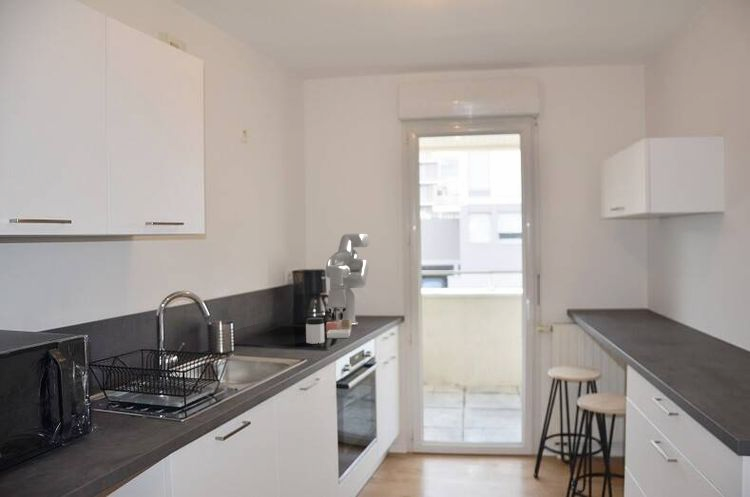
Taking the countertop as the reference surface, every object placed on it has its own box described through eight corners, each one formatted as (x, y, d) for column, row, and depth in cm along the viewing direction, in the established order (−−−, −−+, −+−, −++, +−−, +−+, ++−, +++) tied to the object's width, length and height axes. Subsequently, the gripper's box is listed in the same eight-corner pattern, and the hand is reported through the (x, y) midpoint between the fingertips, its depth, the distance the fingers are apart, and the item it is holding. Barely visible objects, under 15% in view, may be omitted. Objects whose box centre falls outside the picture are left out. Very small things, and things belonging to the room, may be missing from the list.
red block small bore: (327, 332, 330) (327, 321, 329) (338, 332, 329) (338, 321, 329) (326, 334, 324) (326, 323, 323) (337, 334, 323) (337, 323, 323)
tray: (329, 335, 321) (329, 329, 321) (350, 334, 320) (350, 329, 320) (327, 338, 309) (326, 332, 309) (348, 337, 309) (348, 332, 309)
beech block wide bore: (340, 330, 336) (340, 320, 336) (351, 330, 336) (351, 319, 336) (339, 332, 330) (339, 321, 330) (350, 332, 330) (350, 321, 330)
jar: (312, 340, 303) (311, 317, 303) (326, 341, 300) (326, 317, 300) (303, 343, 294) (303, 319, 294) (318, 344, 292) (318, 319, 291)
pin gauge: (335, 329, 342) (335, 308, 342) (340, 329, 342) (339, 308, 342) (335, 330, 340) (334, 308, 340) (339, 329, 340) (339, 308, 339)
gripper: (351, 286, 344) (352, 318, 344) (322, 287, 345) (323, 319, 345) (350, 287, 337) (351, 320, 337) (321, 288, 337) (322, 321, 337)
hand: (337, 319), depth 341 cm, fingers open, 3 cm apart
